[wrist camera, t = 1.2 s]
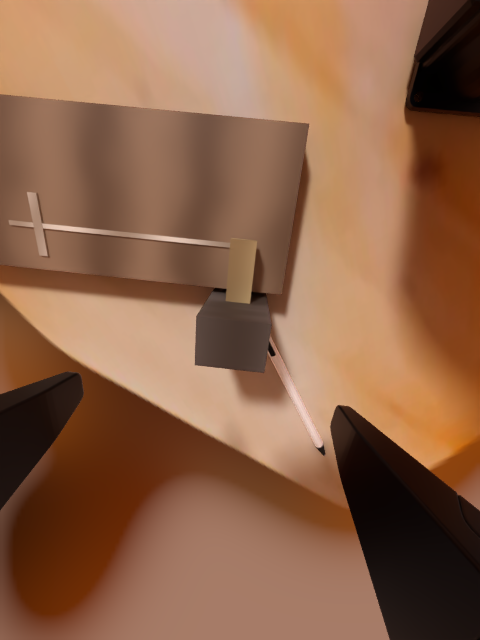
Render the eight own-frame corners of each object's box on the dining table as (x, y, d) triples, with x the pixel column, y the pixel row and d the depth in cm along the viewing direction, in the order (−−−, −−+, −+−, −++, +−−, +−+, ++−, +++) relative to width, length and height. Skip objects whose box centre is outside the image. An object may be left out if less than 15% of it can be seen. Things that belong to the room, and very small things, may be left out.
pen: (248, 288, 20) (247, 292, 19) (327, 450, 25) (331, 460, 24) (238, 293, 20) (237, 297, 19) (319, 453, 25) (322, 462, 24)
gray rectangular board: (302, 136, 16) (309, 122, 14) (278, 288, 19) (281, 295, 17) (-62, 101, 16) (-106, 83, 14) (-19, 256, 20) (-49, 260, 18)
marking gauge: (272, 240, 18) (283, 247, 11) (260, 327, 20) (264, 372, 14) (218, 235, 18) (199, 239, 11) (213, 322, 20) (194, 365, 14)
